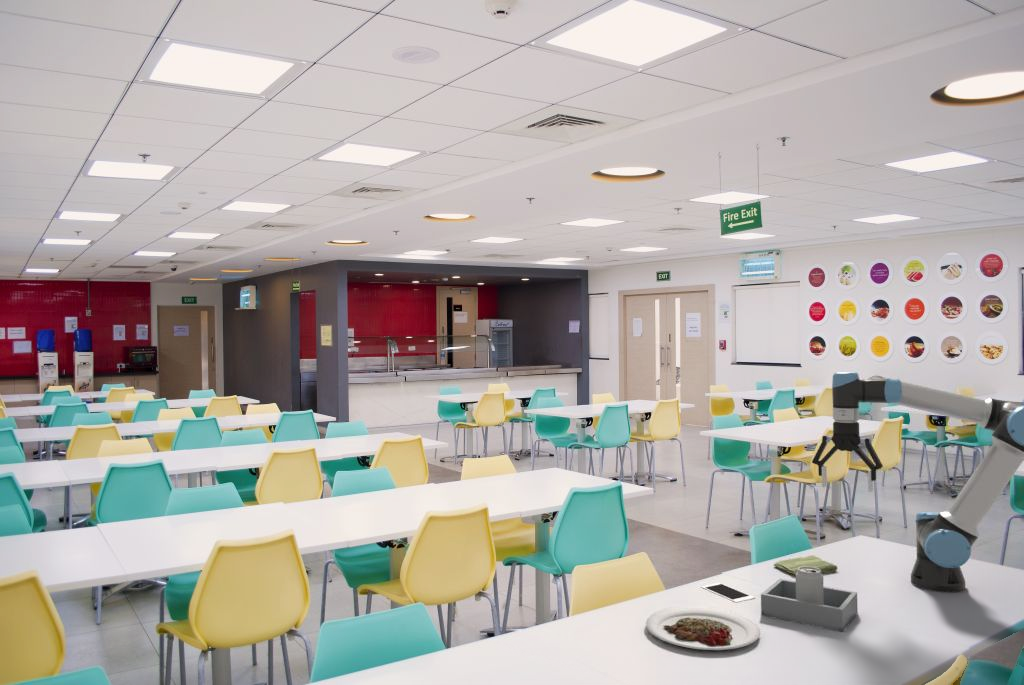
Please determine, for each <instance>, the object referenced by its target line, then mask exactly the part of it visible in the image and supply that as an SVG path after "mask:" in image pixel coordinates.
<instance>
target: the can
mask: <svg viewBox="0 0 1024 685" xmlns="http://www.w3.org/2000/svg"><path fill="white" fill-rule="evenodd" d="M820 572H821V570H820V569H818V568H815V567H808V566H804V567H799V568H798V571H797V572H796V575H795V581H796V600H801V601H806V602H811V603H817V604H822V605H824V587H825V586H824V575H823V574H821V573H820ZM823 586H824V587H823Z"/></svg>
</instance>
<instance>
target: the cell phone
mask: <svg viewBox="0 0 1024 685" xmlns="http://www.w3.org/2000/svg"><path fill="white" fill-rule="evenodd" d="M701 588H702V589H704V590H706V591H708V592H710V593H713V594H715V595H717V596H720V597H723V598H725V599H727V600H729V601H731V602H734V603H742V602H745V601H750V600H753V599H756V597H754V596H753V595H750V594H748V593H745V592H744V591H740V590H738V589H736V588H733V587H731V586H728V585H726V584H724V583H722V582H716V583H712V584H707V585H703V586H701Z"/></svg>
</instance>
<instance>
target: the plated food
mask: <svg viewBox="0 0 1024 685" xmlns="http://www.w3.org/2000/svg"><path fill="white" fill-rule="evenodd" d="M645 624H646V625H645V626H646V629H647V631H648V632H649V633H650V634H652V635H653V636H654V637H655V638H657V639H659V640H661V641H664V642H666V643H668V644H672V645H675V646H679V647H683V648H689V649H692V650H693V649H694V650H704V651H705V650H706V651H724V650H733V649H734V650H735V649H739V648H743V647H746V646H749V645H751V644H753V643H755V642H756V641H757V640H758V639H759V638H760V636H761V629H760V627H759V626H758V624H757V623H756V622H754V621H753V620H752V619H750V618H748V617H746V616H744V615H742V614H739V613H736V612H733V611H731V610H727V609H722V608H717V607H710V606H700V605H699V606H698V605H697V606H695V605H694V606H693V605H689V606H688V605H687V606H675V607H669V608H664V609H661V610H657V611H655V612H654V613H652V614H650V616H649V617H647V618H646V621H645Z"/></svg>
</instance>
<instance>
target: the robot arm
mask: <svg viewBox="0 0 1024 685" xmlns="http://www.w3.org/2000/svg"><path fill="white" fill-rule="evenodd" d="M831 383H832V386H831V387H832V389H831V391H832V392H831V393H832V419H833V422H832V436H831V435H828V434H825V435H822V439H821V443H820V445H819V447H818V449H817V451H816V453H815V455H814V457H813V459H812V460H811V461H812V464H814V465H816V466H817V467H818V468H817V469H818V470H817V471H818V476H819V477H821V488H826V487H827V485H828V484H827V481H828V480H827V478H828V477H827V465H825V464H826V463H827V461H829V460H830V458H831V457H832V456H833V455H834V454H835V453H836V452H837V451H841V452H843V451H846V452H854V453H855V454H857V456H858V457H859V458H860V459H861V460H862V461H863V462H864V463H865V465H866V466H867V467H868V468H869V469H868V470H867V490H868V491H867V492H869V493H871V492H873V491H874V482H875V481H876V480H877V470H881V469H882V468H883V467H884V466H883V462H882V461H881V459H880V458H879V456H878V454H877V452H876V451H875V449H874V447H873V445H872V439H871V437H864V438H863V437H861V436H860V423H859V422H858V421H860V408H859V407H860V403H864V404H865V403H870V404H871V403H876V404H880V403H882V404H893V405H897V406H898V405H899V406H902V407H907V408H910V409H916V410H919V411H923V412H928V413H932V414H936V415H940V416H943V417H944V416H945V417H949V418H953V419H957V420H960V421H966V422H969V423H974V424H978V425H979V427H980V428H982V429H985V430H989V431H991V432H992V434H991V435H990V438H991V440H992V445H991V447H989V449H988V450H987V452H986V453H985V455H984V456H983V458H982V459H981V461H979V462H980V463H979V464H978V465H977V467H976V468H975V470H974V471H973V472H972V474H971V475H970V477H969V478H968V480H967V481H966V483H965V484H964V486H963V487H962V489H961V490H960V492H959V493H958V495H957V496H956V498H955V499H954V500H953V501H952V503H951V505H950V507H949V508H948V509H947V510H945V511H918V512H917V513H916V516H915V521H914V522H915V526H916V527H915V529H916V530H915V532H916V533H915V534H916V542H915V543H916V559H915V562H914V565H913V568H912V570H911V573H910V583H911V584H912V585H913V586H916V587H918V588H921V589H924V590H926V591H927V590H929V591H932V592H937V593H938V592H941V593H959V592H963V591H964V590H966V580H965V579H966V578H965V577H964V574H963V571H962V569H961V567H962V566H964V565H966V563H967V562H968V561H969V559H970V557H971V553H972V547H973V546H974V544H975V542H976V540H977V539H978V538H979V531H978V527H979V525H980V524H981V523H982V521H983V520H984V518H985V517H986V515H987V514H988V512H990V509H991V508H992V506H994V503H996V501H997V500H998V497H1000V495H1001V494H1002V493H1003V491H1004V489H1005V488H1006V486H1007V485H1008V483H1009V482H1010V481H1011V480H1012V478H1013V476H1014V475H1015V473H1016V472H1017V470H1018V469H1019V468H1020V466H1021V465H1022V463H1023V461H1024V402H1022V401H1013V400H1012V401H1011V400H1002V399H995V398H991V397H988V398H987V399H981V398H977V397H972V396H968V395H962V394H958V393H955V392H949V391H945V390H941V389H936V388H932V387H927V386H922V385H918V384H914V383H909V382H905V381H901V380H900V379H899V378H891V377H890V378H887V377H883V376H881V375H871V376H870V377H868V378H861V377H859V373H858V372H855V371H837V372H834V373H833V374H832V382H831ZM830 442H832V443H833V446H832V448H831V449H830V450H829V451H828V452H827V453H826V454H825V455H824V456H823V457H822V458H821V456H822V455H823V453H824V451H825V449H826V447H827V445H828V443H830ZM860 443H862V445H863V446H865V448H866V449H867V451H868V453H869V456H870V457H871V459H872V460H871V459H870V458H869V457H868V455H866V453H865V452H864V451H863V450H862V448H861V447H860V446H859V445H860ZM820 459H821V460H820Z"/></svg>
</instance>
